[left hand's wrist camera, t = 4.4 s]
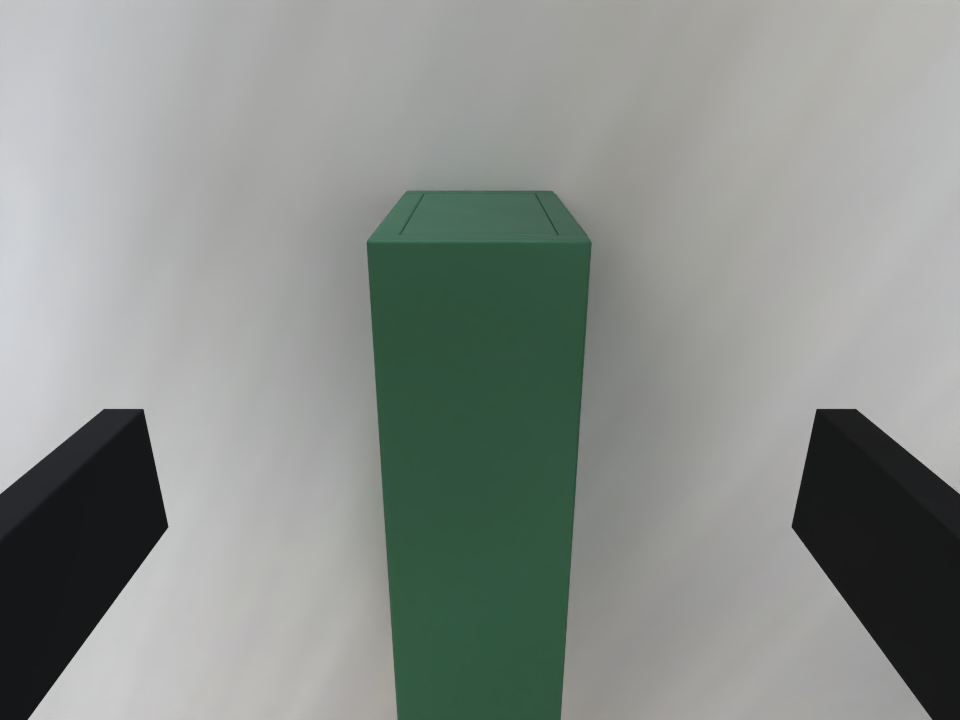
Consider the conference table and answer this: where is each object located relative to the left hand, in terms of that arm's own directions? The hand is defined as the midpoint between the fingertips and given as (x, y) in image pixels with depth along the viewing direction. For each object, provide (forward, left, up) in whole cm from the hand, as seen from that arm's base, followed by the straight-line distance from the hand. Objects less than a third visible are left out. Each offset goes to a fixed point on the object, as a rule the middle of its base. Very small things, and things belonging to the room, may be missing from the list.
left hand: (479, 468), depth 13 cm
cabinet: (+5, -2, -15) cm, 16 cm away
